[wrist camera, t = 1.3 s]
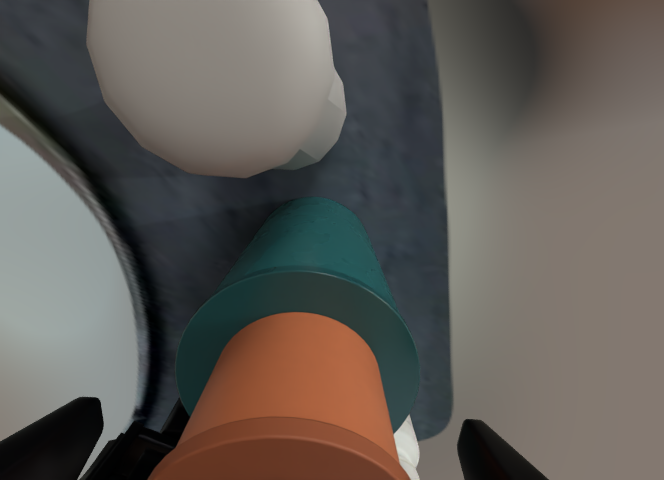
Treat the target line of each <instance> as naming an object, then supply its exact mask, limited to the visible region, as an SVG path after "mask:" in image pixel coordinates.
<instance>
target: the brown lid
mask: <svg viewBox="0 0 664 480" xmlns="http://www.w3.org/2000/svg"><path fill="white" fill-rule="evenodd" d="M147 480H411V479H410V478H409V476H408V474H407V473H406V471H405V470H404V469H403V468H402V466H401V465H400V462H399V457H398V453H397V448H396V444H395V439H394V435H393V430H392V426H391V421H390V417H389V412H388V408H387V403H386V399H385V394H384V390H383V385H382V381H381V376H380V372H379V367H378V363H377V361H376V358H375V356H374V354H373V352H372V351H371V349H370V347H369V346H368V345H367V343H366V342H365V341H364V340H363V339H362V338H361V337H360V336H359V335H358V334H357V333H356V332H355V331H353V330H352V329H350V328H349V327H348V326H346V325H344V324H342V323H340V322H339V321H336V320H334V319H331V318H329V317H326V316H322V315H318V314H313V313H306V312H288V313H280V314H275V315H270V316H267V317H264V318H261V319H259V320H257V321H255V322H253V323H251V324H249V325H248V326H246V327H244V328H243V329H241V330H240V331H239V332H238V333H237V334H236V335H234V336H233V337H232V339H231V340H230V341H229V342H228V343H227V345H226V346H225V348H224V349H223V351H222V353H221V355H220V357H219V359H218V361H217V363H216V365H215V367H214V369H213V371H212V374H211V376H210V378H209V380H208V382H207V384H206V386H205V388H204V390H203V392H202V394H201V396H200V398H199V400H198V403H197V405H196V407H195V409H194V411H193V413H192V415H191V417H190V419H189V421H188V423H187V425H186V427H185V429H184V432H183V434H182V436H181V438H180V440H179V442H178V444H177V446H176V448H175V449H174V450H172V451H171V452H170V453H169V454H167V455H166V456H165V457H164V458H163V459H162V461H161V462H160V463H159V464H158V465H157V466H156V467H155V468H154V470H153V472H152V473H151V475H150V476H149V478H148V479H147Z"/></svg>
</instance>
